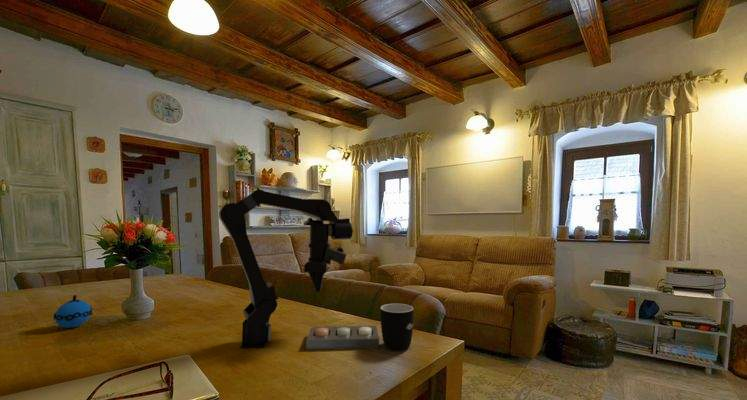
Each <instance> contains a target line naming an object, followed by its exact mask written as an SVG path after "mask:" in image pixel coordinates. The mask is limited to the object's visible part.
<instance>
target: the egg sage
mask: <svg viewBox="0 0 747 400" xmlns="http://www.w3.org/2000/svg"><path fill="white" fill-rule="evenodd" d="M340 327H341V328H338V329H337V336H339V335H350V328H347V327H342V326H340Z"/></svg>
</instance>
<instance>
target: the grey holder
mask: <svg viewBox="0 0 747 400" xmlns="http://www.w3.org/2000/svg"><path fill="white" fill-rule="evenodd" d="M341 327H347V328H350V335H339V336H337V329H338V328H341ZM361 327H370V328H371V335H359V328H361ZM318 328H328V336H315V330H316V329H318ZM305 342H306V343H305V345H306V346H305V350H306V351H313V350H314V351H315V350H317V351H320V350H348V349H349V350H354V349H358V350H359V349H379V348H380V337H379V333H378V326H377V325H353V326H352V325H351V326H347V325H346V326H343V325H342V326H311V328H310V331H309V333H308V335H307V338H306V341H305Z"/></svg>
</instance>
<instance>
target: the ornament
mask: <svg viewBox="0 0 747 400" xmlns="http://www.w3.org/2000/svg"><path fill="white" fill-rule="evenodd" d="M92 314H93V308H92V307H91V305H90V304H89V303H88V302H87V301H85V300H82V299H77V295H76V294H74V295H73V296H72V300H69V301H67V302H64V303H63V304H61V305H60V306H59V307H58V308H57V310H56V312H54V314H53V320H55V321H54V322H55V324H57V325H58V326H59V327H62V328H64V329H65V328H66V329H74V328H77V327H80V326H82V324H84V323H86V322H87V321H88V320H89V318H90V316H92Z"/></svg>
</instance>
